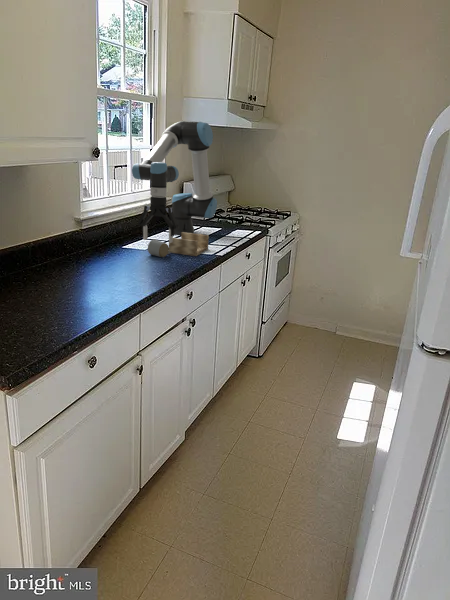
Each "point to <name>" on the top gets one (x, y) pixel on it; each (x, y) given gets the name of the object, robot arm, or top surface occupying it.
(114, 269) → the top surface
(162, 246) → the ceramic mug
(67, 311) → the top surface
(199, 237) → the holder
